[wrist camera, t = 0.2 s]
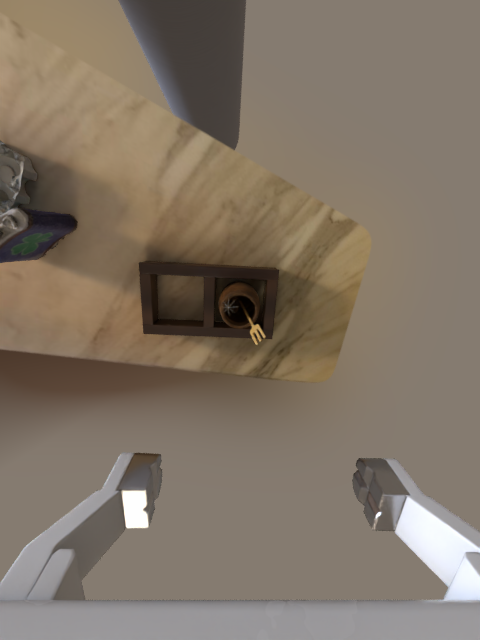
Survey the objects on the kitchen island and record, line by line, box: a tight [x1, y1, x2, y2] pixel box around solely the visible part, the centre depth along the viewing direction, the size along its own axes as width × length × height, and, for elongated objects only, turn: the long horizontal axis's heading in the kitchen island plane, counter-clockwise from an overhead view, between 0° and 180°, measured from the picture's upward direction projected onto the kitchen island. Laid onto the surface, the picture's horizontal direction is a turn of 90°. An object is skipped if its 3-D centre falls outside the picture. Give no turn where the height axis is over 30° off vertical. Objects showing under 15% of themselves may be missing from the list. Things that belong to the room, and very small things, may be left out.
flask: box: [0, 208, 77, 263], centre depth 31 cm, size 9×3×11 cm, turn 124°
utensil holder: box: [219, 281, 266, 345], centre depth 34 cm, size 6×6×12 cm
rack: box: [139, 261, 279, 339], centre depth 38 cm, size 10×20×3 cm, turn 87°
